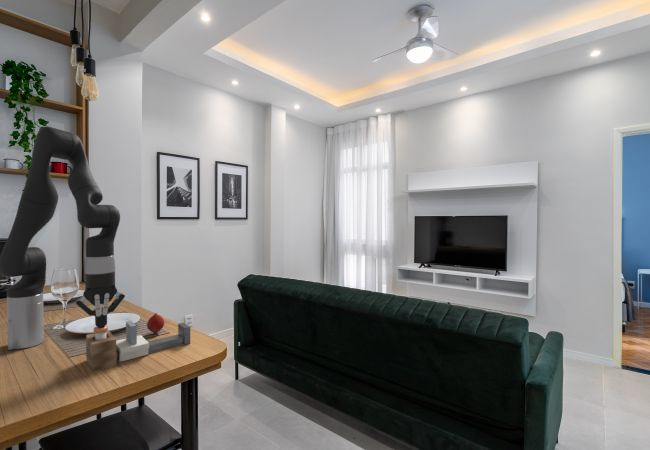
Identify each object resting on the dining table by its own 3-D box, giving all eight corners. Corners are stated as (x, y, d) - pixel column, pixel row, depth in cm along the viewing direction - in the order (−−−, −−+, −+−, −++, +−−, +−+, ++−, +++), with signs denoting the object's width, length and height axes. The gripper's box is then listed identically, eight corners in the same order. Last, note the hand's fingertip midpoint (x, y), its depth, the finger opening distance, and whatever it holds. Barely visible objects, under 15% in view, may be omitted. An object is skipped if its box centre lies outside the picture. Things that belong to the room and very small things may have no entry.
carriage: (120, 362, 101) (120, 330, 101) (113, 353, 108) (113, 322, 107) (149, 355, 107) (149, 324, 106) (141, 346, 113) (140, 317, 113)
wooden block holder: (92, 371, 96) (92, 344, 96) (86, 360, 103) (86, 334, 103) (116, 365, 100) (116, 339, 100) (109, 354, 107) (108, 330, 107)
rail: (114, 363, 102) (114, 343, 101) (110, 356, 106) (110, 338, 106) (190, 343, 117) (190, 326, 117) (183, 338, 122) (183, 322, 122)
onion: (143, 334, 125) (143, 313, 125) (157, 329, 130) (157, 309, 130) (153, 337, 122) (153, 316, 122) (167, 332, 128) (167, 311, 127)
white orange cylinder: (95, 356, 99) (94, 330, 99) (92, 352, 102) (92, 327, 101) (109, 353, 102) (109, 327, 101) (106, 349, 104) (106, 324, 104)
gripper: (122, 266, 108) (122, 319, 109) (71, 271, 99) (72, 329, 99) (128, 270, 102) (128, 325, 103) (75, 275, 93) (76, 336, 94)
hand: (101, 327), depth 101 cm, fingers closed
